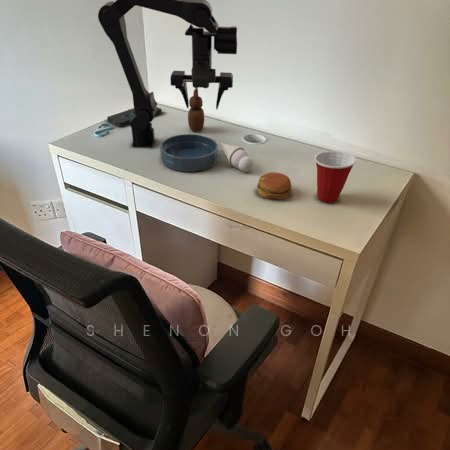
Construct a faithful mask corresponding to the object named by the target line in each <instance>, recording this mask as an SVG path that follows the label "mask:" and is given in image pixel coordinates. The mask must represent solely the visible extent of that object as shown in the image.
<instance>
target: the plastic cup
mask: <svg viewBox="0 0 450 450" xmlns="http://www.w3.org/2000/svg"><path fill="white" fill-rule="evenodd" d="M314 162H315V164H316V196H317V199H318V200H319V201H320V202H322V203H325V204H334V203H336V202H337V201H338V199H339V198H340V195H341V193H342V192H343V190H344V187H345V185H346V182H347V180H348V177H349V175H350V173H351V171H352V169H353V167H354V165H355V164H356V162H357V158H356V156H355V155H353V154H351V153H348V152H346V151H340V150H327V151H326V150H325V151H321V152H319V153H317V154H316V155H315V156H314Z"/></svg>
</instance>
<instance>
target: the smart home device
mask: <svg viewBox="0 0 450 450" xmlns="http://www.w3.org/2000/svg"><path fill="white" fill-rule="evenodd" d="M156 108H157V109H156V113H155V115H154V117H156V116H159V115H161V114H162V108H160V107H158V106H156ZM134 113H135V110H134V108H130V109H128V110H124V111H122V112H118V113H115V114H111V115H109V116H107V117H106V118H107V122H108V123H110V124H112V125H114V126H116V127H119V128H124V127H126V126H129V125H130V121H131V119H132V117H133V115H134Z"/></svg>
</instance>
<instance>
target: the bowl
mask: <svg viewBox="0 0 450 450" xmlns="http://www.w3.org/2000/svg"><path fill="white" fill-rule="evenodd" d="M159 149H160V151H159V152H160V160H161V162H162V164H163V165H164V166H166V167H167V168H169V169H172V170H175V171H180V172H199V171H204V170H207V169H210V168H211V167H213V166H215V165H216V164H217V163H218V159H219V158H218V157H219V156H218V155H219V145H218V143H217V141H215V139H212V138H211V137H208V136H206V135H201V134H195V133H193V134H192V133H184V134H177V135H176V134H175V135H173V136H170V137H167V138H166V139H164V140H162V142H160V146H159Z"/></svg>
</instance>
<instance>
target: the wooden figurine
mask: <svg viewBox="0 0 450 450" xmlns="http://www.w3.org/2000/svg"><path fill="white" fill-rule="evenodd" d="M193 89H194V90H193V93H192V96H190V97H189V99H188V101H189V107H190V108H189V109H188V112H187V124H188V128H189V129H190V131H192V132H195V133H197V132H201V131H202V130H204V126H205V112H204V109H203V108H202V107H203V99H202V97H201V96H199V87H198V88H193Z"/></svg>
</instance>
